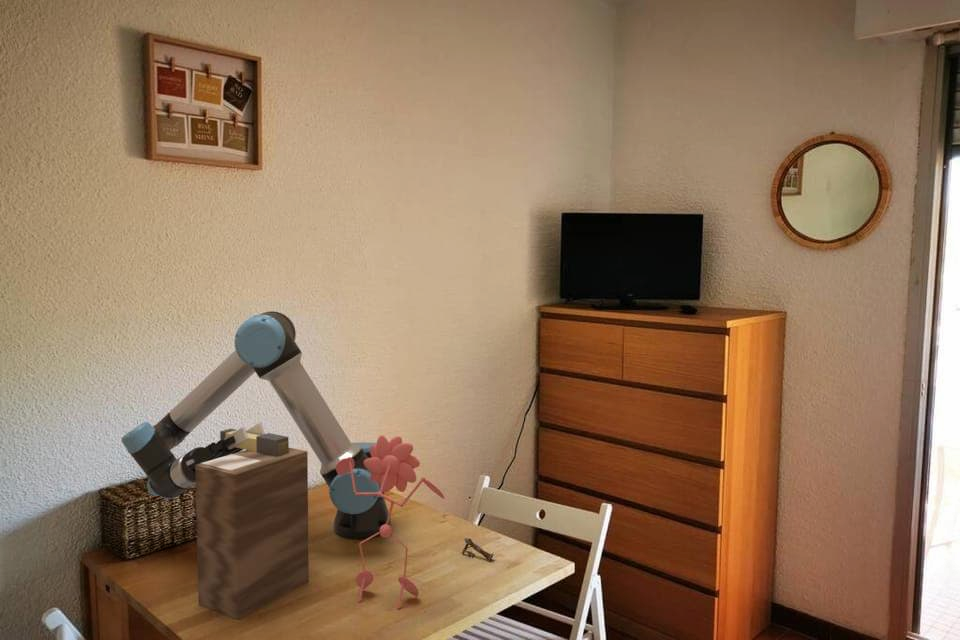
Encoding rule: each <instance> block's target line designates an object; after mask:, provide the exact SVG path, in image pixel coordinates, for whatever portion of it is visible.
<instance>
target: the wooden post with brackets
mask: <svg viewBox="0 0 960 640" xmlns="http://www.w3.org/2000/svg"><path fill="white" fill-rule="evenodd" d="M464 542H465V543H466V544H465V546H464V548H463V549H462V552H461V554H462V555H465V553H466V554H467V557H470V556H473V557H476V555H475V553H473V552H472V550H471V551H469V550H468V549H469V548H473V550H475V551H476V552H477V553H478V554H481V555H482V556H483V557H484V558H485V559H486V560H487V561H489V562H490V560H491V559H490V558H492V559H493V557H494V555H495V553H494V552H493V553H489V552H487V551H485V550H483V548H482V547H480V545H478V544H475V543H474V542H473V540H472V539H471V538H469V537H468V538H467V537H465V538H464ZM473 557H472V558H473ZM487 561H486V562H487Z"/></svg>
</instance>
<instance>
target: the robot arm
mask: <svg viewBox="0 0 960 640" xmlns="http://www.w3.org/2000/svg"><path fill="white" fill-rule="evenodd" d="M234 335H235V336H234V348H235V350H234V351H233V352H232V353H230V354H229V355H228V357H226V358H225V359H224V360H223V361H222V362H221V363H220V364H219V365H218V366H217V367H216V368H215V369H214V370H212V371H211V373H210V374H209V375H207V376H206V377H205V378H204V379H203V380H202V381H201V382H200V383H199V384H198V385H197V386H195V388H194V389H192V390H191V392H189V393H188V394H187V395H186V396H185V397H184V398H183V399H182V400H181V401H180V402H178V403H177V404H176V406H174V407H173V408H172V409H171V410H170V411H169V412H168V413H166V414H165V416H164V417H162V418H161V419H160V420H159V421H158V422H157V423H156V424H154V425H152V424H151V423H150V422H148V421H144V422H142V423H140V424H139V425H137V426H136V427H134V428H133V429H131V430H130V431H129V432H127V433H125V434H124V435H123V436H122V437H121V443H122V444H123V445H124V447H125V448H126V451H127V453H128V454H129V455H130V456H131V457H132V459H133V460H134V461H135V462H136V463H137V465H138V466H139V468H141V470H142V471H143V472H144V473H145V475H146V477H147V479H148V480H147V483H146V487H147V493H148V494H149V495H150V494H151V495H157V496H160V497H162V498H164V499H169V500H171V499H173V498H177V497H178V496H179V495H181V494H183V493H185V492H187V491H188V490H189V489H196V477H195V465H197V464H200V463H203V462H207V461H210V460H213V459H217V458H220V457H224V456H227V455H230V454H234V453H238V452H241V451H244V450H245V449H241V448H236V447H235V446H237V445H239V444H240V443H242V442H243V441H245V440H247V439H248V436H247V433H250V434H255V435H264V434H266V432H265V430H264V427H263V424H262V423H261V422H258V423H257V424H255V425H253V426H252V427H250V428H248V429H247V430H246V428H245V427H244V426H243V427H241V428H239V429H237V430H236V432H234V433H232V434H231V435H229V436H228V437H226V438H224V439H225V440H218V441H216V442H211V443H210V444H208V445H206V446H205V447H203V446H200V447H199V446H198V447H195V448H193V449H191V450H190V451H188V452H186V453H185V454H182V455H181V456H179V457H178V458H176V456H175V454H174V453H173V452H172V449H174V448H176V447H178V446H179V445H180V444H181V443H183V441H184V440H185V439H186V437H187V436H189V434H190V433H191V432H193V431H194V430H195V429H196V427H198V426H199V425H200V424H201V423H202V422H203V421H204V420H206V418H208V417H209V415H211V414H212V413H213V412H214V411H215V410H216V409H217V408H218V407H219V406H221V404H222V403H224V402H225V401H226V399H228V398H229V397H230V396H231V395H233V393H235V391H236V390H237V389H239V387H241V386H242V385H243V384H244V383H245V382H246V381H247V380H248V379H249V378H251V377H252V376H253V374H256V376H258V378H259V380H265V381H268V382H269V383H270V385H271V387H272V388H273V389H274V391H275V393H276V394H277V396H278V398H279V399H280V400H281V402H282V403H283V405H284V407H285V408H286V410H287V412H288V413H289V414H290V416H291V418H292V419H293V421H294V423H295V424H296V426H297V428H298V429H299V430H300V432H301V434H303V436H304V438H305V440H306V442H307V443H308V445H309V447H310V448H311V450H312V451H313V452H314V454H315V456H316V457H317V459H318V460H319V462H320V464H321V465H320V471H319V473H320V475H321V478H323V480H324V482H325V483H326V485H327V486H328V488H329V490H328V494H329V497H330V501H331V503H332V505H333V506H334V507H335V508H336V509H337V511H336V513H335V515H334V519H333V531H334V533H335V534H336V535H338V536H340V537H344V538H349V539H358V538H359V539H367V538H369V537H371V536H373V535H375V534H376V533H378V532H379V530H380V528H381V526H382V525H385V524H386V522H387V518H388V514H389V509H388V506H387V503H386V499H384V498H383V497H378V496H377V495H355V493H354V490H353V484H352V478H351V472H349V473H346V474H344V475H341V476H339V475H338V473H337V471H336V465H337V463H338V462H339V461H340V460H342V459H343V458H348V457H351V458H352V459H353V460H354V464H355V466H354V468H353V475H354V480H355V486H356V493H374V492H380V489H381V487H380V484H381V482H373V481H371V478H370V476H371V473H372V472H371V471H370V470H368V469H367V468H366V467H365V465H364V460H366V459H368V458H372V456H371V454H370V446H371V445H375V446H376V444H377V442H364V441H363V442H352V441H350V439H349V438H348V435H347V434H346V433H345V431H344V429H343V428H342V426H341V425H340V423H339V421H338V419H336V416H335V415H334V413H333V412H332V409H330V407H329V405H328V404H327V402H326V400H325V399H324V397H323V396H322V394H321V392H320V391H319V389H318V388H317V386H316V384H315V383H314V381H313V379H311V377H310V375H309V374H308V371H306V369H305V367H304V366H303V364H302V362H301V359H302V356H303V351H302V350H301V349H300V348H299V346H298V344H297V343H296V337H297V336H296V328H295V325H294V322H293V321H292V320H291V319H290V318H289V317H288V316H286V314H284V313H282V312H278V311H273V310H272V311H270V310H269V311H265V312H262V313H259V314H255V315H253V316H251V317H249V318H248V319H246V320H244V321H243V323H241V325H240V326H239V327H238V329H237V331H236V333H235V334H234ZM382 494H383V495H385V492H383V491H382ZM391 521H392V519H391V517H390V518H389V521H388V525H389V526H390V527H391V528H392V523H391ZM379 536H381V535H380V534H378V535H376V536H374V537H373V538H375V537H379Z"/></svg>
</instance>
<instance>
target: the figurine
mask: <svg viewBox="0 0 960 640" xmlns="http://www.w3.org/2000/svg"><path fill="white" fill-rule="evenodd" d="M402 439H403V438H402V437H401V436H400V435H398V436H397V435H396V436H394V437H393V438H392V439H390V440H388V439H387V438H386V436H385V435H383V434H382V435H379V437H378V438H377V440H376V443H377V444H376V446H375V445H371V446H370V454H371V456H372V458H368V459H366V460H364V465H365V467H366V468H367V469H368V470H370V471H371V472H372V473H371V476H370V478H371V481H373V482H381V484H380V487H381V489H380V492H374V493H356V486H355V480H354V475H353V468H354V466H355V464H354V460H353V459H352V458H351V457H348V458H343V459H342V460H340V461H339V462H338V463H337V465H336V471H337V473H338V475H339V476H341V475H344V474H346V473H349V472H351V478H352V484H353V490H354V493H355V495H377V496H378V497H383V498H384V499H385V501H386V500H387V501H388V502H389V503H390V507H389V509H388V512H389V514H388V518H387V522H386V524H385V525H382V526H381V528H380V530H379V532H378V533H376V534H375V535H373V536H371V537H369V538H365V539H364V540H362V541H361V542H359V551H360V557H361V563H362V568H363V571H362V570H361V571H360V572H358V574H357V575H356V577H355V584H356V585H357V586H358V587H359V588H360V591H359V596H358V603H359V602H360V603H361V602H362V598H363V592H364V590H365V589H367V588H368V587H369V586H371V584H372V583H373V581H374V578H376V577H377V578H378V577H379V575H373V573H372V572H371V571H370V570H366V566H365V561H364V555H363V549H362V544H363V543H365V542H367V541H369V540H371V539H372V538H375V537H374V536H376V535H378V534H380V535H379V536H381V537H382V538H389V537H391V535H392V536H393V537H394V538H395V539H396V540H397V541H398V542H399V543H400V545H402V546H403V547H404V549H405V556H404V568H403V569H404V571H403V575H400V574H399V575H397V576H398V578H397V581H398V583H399V584H400V591H399V596H398V601H397V609H401V604H402V597H403V592H404V590H405V591H406V592H408V593H409V594H410V595H413V596H414V597H416V598H418V596H419V588H418V587H417V585H415V583H413V581H417V582H419V583H422V584H423V582H422V581H420V580H418V579H414V578H411V577H406V574H407V563H408V552H409V551H408V550H409V549H408V547H407V546H406V545H405V544H404V543H403V542H402V540H401V539H400V538H398V537H397V535H396V534H395V533H393V529H392V526H391V527H390V526H389V525H388V521H389V518H391V514H392V511H393V508H394V505H397V506H399V507H401V508H403V506H404V505H405V504H406V503H407V502H408V500H409V499H410V498H411V497H412V495H413V494H414V493H415V492H416V491H417V489H418V488H419V486H421V484H423V483H424V484H425V486H427V488H429V490H431V491H432V492H433V493H435V495H437V496H438V497H440V498H441V499H443V500H445V495H444V493H443V492H442V491H441V490H440V489H439V488H438V487H437V486H436V485H435V484H433V483H432V482H431V481H429V479H427V478H426V477H425V476H422V477H421V478H420V480H419V481H418V483H417V484H416V485H415V486H414V487H413V489H412V490H411V491H410V492H409V494H408V495H407V496H406V497H405V498H404V500H403V501H402V503H400V502H399V501H397V500H395V499H393V498H391V497H389V496H387V495H386V494H384V495H383V494H382V491H383V492H384V493H388V492H389V491H391V490H393V488H394V487H395V489H396V490H397V491H398V492H400V493H401V492H402V493H404V492H406V489H407V486H408V483H411V484H412V483H413V484H414V483H416V482H417V475H416V472H415V470H414V469H416V468H417V469H418V467H420V465H421V462H420V460H419V459H418V458H417V457H416V456H414V455H412V453H413V452H414V446H413V444H412V443H410V442H403V440H402ZM376 537H377V536H376ZM412 580H413V581H412ZM426 612H428V610H426V611H424V612H423V613H422V614H424V613H426Z"/></svg>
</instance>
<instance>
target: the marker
mask: <svg viewBox="0 0 960 640" xmlns="http://www.w3.org/2000/svg"><path fill="white" fill-rule="evenodd" d="M236 431H237V430H236V429H235V428H228V429H223V430H220V432H219V437H220V438H219V439H220V440H225V439H224V438H226V437H228V436H229V435H231V434H232V433H234V432H236ZM247 436H248V439H247V440H245V441H243V442H242V443H240V444H239V445H237V446H235V447H236V448H241V449H244V450H250V451H255V452H257V453H261V454H265V455H270V456H274V457H278V456H281V455H284V454H287V453H289V448H290V445H289V443H290V442H289V436H285V435H280V434H275V433H270V432H268V433H265V434H264V435H255V434H250V433H247Z"/></svg>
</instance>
